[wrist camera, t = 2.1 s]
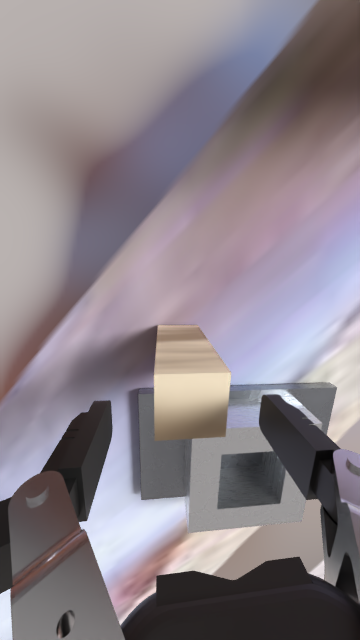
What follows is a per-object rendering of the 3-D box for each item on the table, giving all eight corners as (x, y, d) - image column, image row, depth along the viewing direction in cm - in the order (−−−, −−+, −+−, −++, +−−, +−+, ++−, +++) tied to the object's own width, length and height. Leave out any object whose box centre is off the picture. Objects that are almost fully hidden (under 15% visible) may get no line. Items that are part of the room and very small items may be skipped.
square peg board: (139, 388, 21) (132, 423, 16) (329, 382, 23) (374, 411, 18) (142, 490, 24) (137, 545, 19) (309, 477, 26) (343, 523, 21)
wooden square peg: (157, 325, 20) (154, 374, 10) (197, 325, 20) (231, 372, 10) (158, 362, 20) (154, 440, 11) (195, 361, 21) (225, 436, 11)
